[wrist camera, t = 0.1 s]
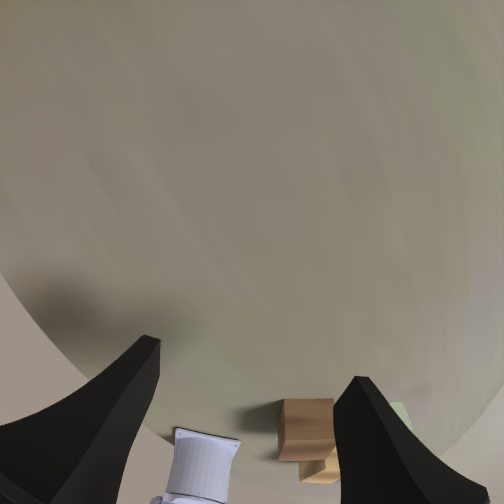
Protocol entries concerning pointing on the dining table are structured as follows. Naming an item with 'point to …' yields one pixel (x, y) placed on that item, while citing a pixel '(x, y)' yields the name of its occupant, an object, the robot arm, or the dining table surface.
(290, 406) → the walnut block
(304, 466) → the oak block
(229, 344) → the dining table surface
